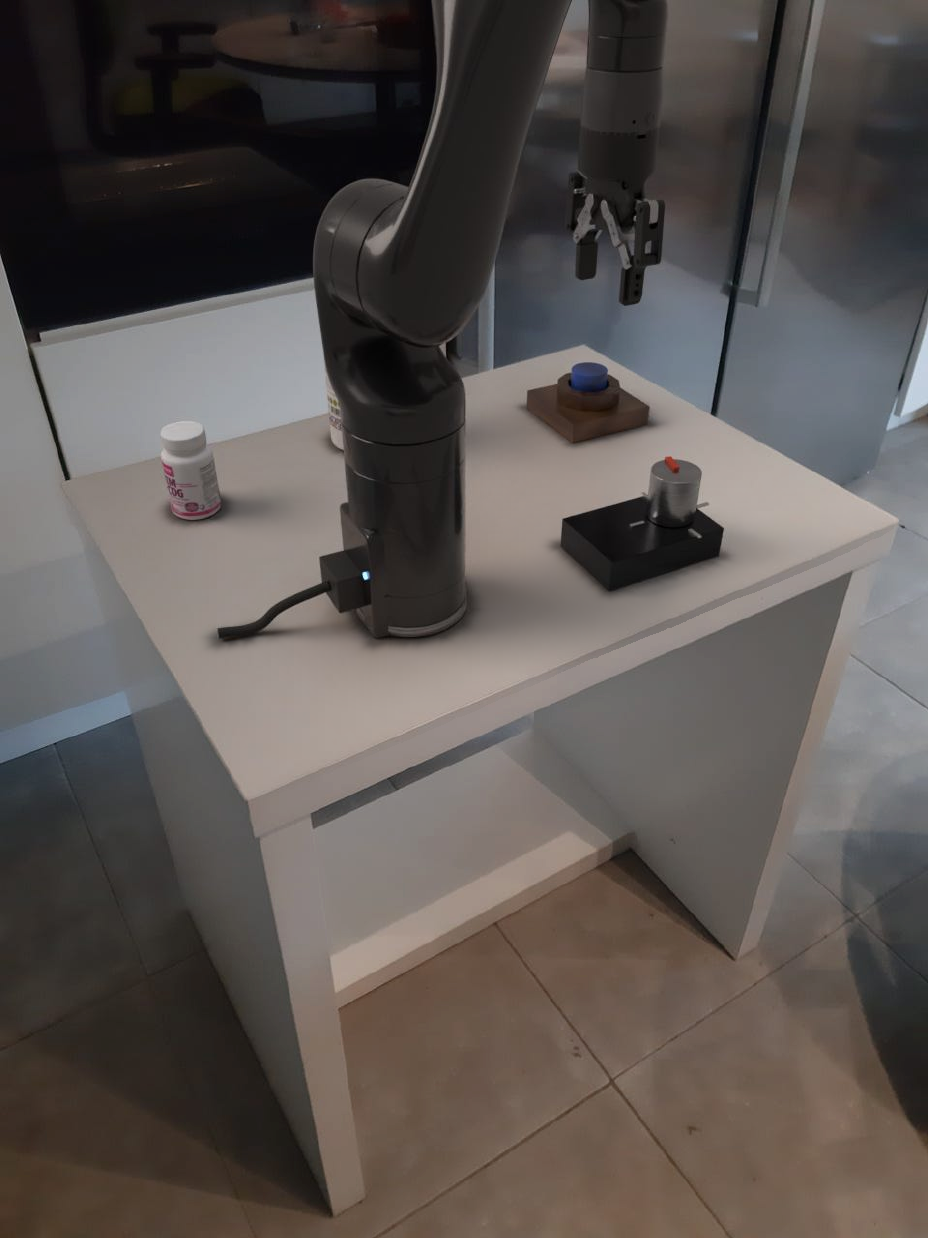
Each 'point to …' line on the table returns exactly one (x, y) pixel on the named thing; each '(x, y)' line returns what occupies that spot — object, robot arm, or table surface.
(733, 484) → the table surface
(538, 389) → the button block
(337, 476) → the table surface
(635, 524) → the panel
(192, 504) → the pill bottle
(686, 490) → the knob
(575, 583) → the table surface
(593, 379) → the button
